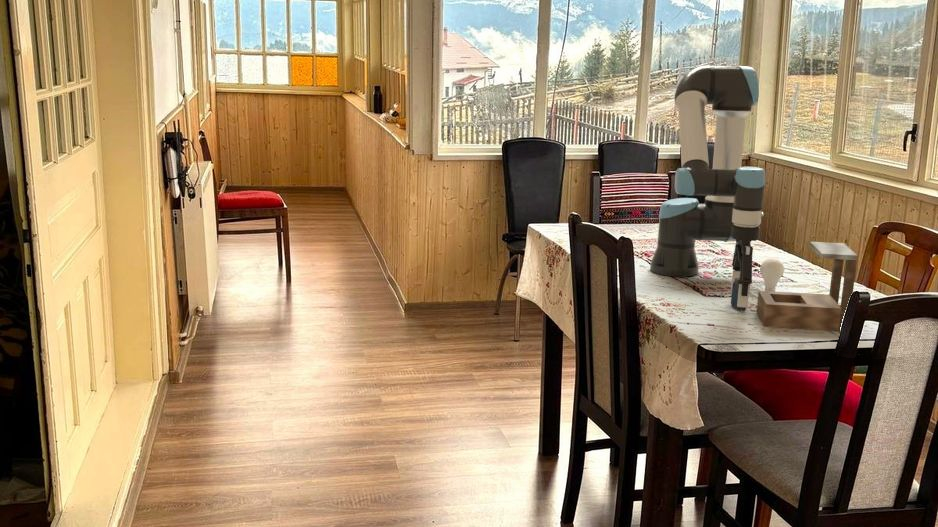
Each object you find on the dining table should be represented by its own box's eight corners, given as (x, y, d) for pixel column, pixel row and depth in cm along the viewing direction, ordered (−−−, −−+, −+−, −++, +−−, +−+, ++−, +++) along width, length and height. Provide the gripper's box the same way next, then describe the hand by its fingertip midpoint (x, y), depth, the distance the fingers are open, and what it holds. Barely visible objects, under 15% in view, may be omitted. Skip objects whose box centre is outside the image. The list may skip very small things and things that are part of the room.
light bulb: (762, 290, 259) (766, 254, 256) (784, 294, 255) (788, 258, 252) (754, 294, 254) (757, 258, 251) (776, 299, 250) (780, 262, 247)
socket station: (764, 326, 225) (772, 251, 220) (756, 311, 238) (763, 239, 233) (847, 332, 222) (857, 255, 217) (834, 315, 235) (843, 243, 230)
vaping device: (739, 311, 238) (743, 268, 235) (728, 305, 243) (732, 264, 240) (747, 310, 239) (751, 268, 236) (737, 305, 243) (741, 263, 241)
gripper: (768, 234, 222) (760, 313, 228) (753, 216, 246) (746, 288, 251) (738, 233, 224) (730, 312, 229) (726, 215, 247) (719, 287, 252)
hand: (739, 300), depth 240 cm, fingers open, 13 cm apart
